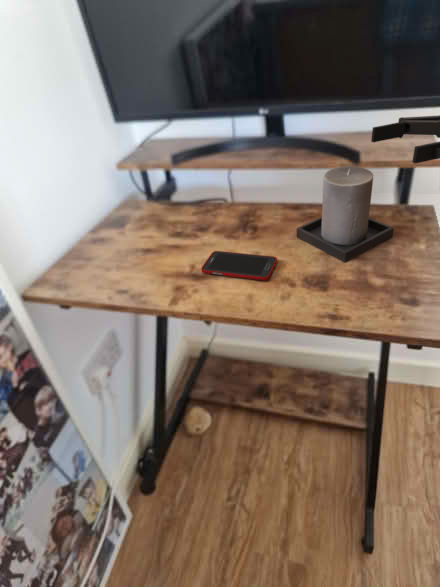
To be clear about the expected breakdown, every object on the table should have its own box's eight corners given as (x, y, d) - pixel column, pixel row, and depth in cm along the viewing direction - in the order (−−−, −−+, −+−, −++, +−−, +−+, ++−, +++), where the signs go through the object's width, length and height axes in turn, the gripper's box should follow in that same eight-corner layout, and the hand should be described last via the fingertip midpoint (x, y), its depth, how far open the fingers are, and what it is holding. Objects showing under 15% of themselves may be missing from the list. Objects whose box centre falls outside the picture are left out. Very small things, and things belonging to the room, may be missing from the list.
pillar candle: (351, 220, 93) (357, 156, 84) (375, 239, 86) (385, 171, 77) (313, 230, 92) (314, 166, 83) (333, 250, 84) (338, 182, 75)
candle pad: (392, 237, 87) (394, 227, 85) (344, 262, 81) (345, 253, 80) (342, 215, 97) (342, 206, 96) (296, 237, 92) (296, 228, 90)
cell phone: (268, 282, 79) (268, 278, 78) (200, 273, 84) (199, 269, 84) (278, 260, 84) (278, 256, 84) (213, 254, 90) (213, 250, 89)
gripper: (544, 163, 69) (431, 187, 67) (446, 128, 89) (357, 146, 86) (561, 117, 64) (441, 141, 62) (454, 91, 84) (360, 108, 82)
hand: (392, 144), depth 74 cm, fingers open, 13 cm apart
